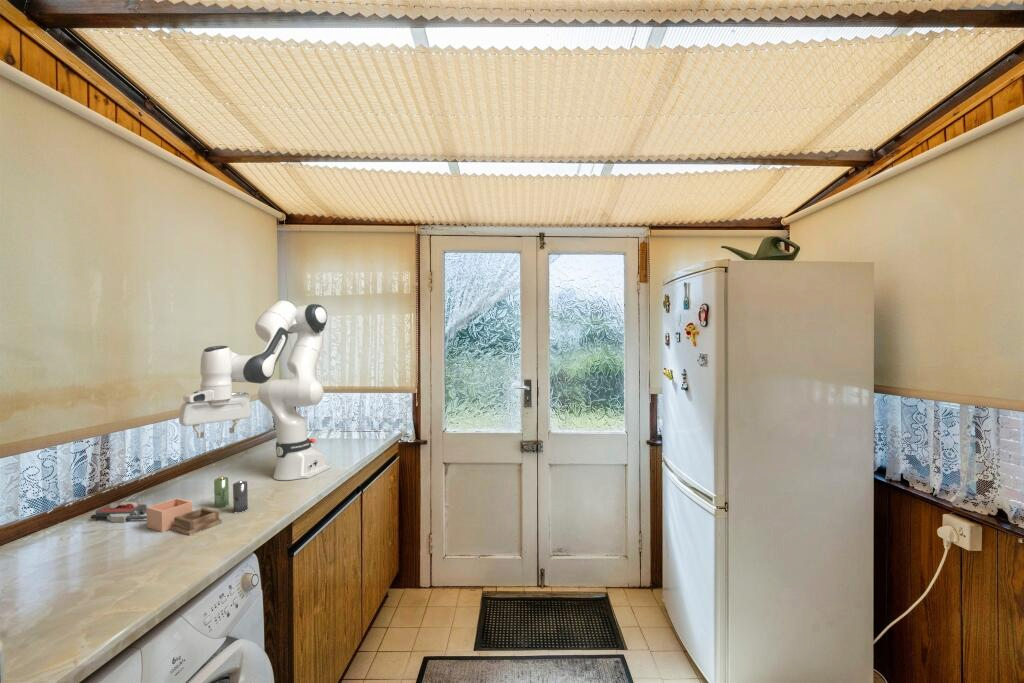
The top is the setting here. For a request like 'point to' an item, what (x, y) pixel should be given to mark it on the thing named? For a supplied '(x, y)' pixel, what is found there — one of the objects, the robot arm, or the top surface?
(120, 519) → the walkie-talkie
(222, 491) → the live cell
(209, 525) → the cell holder
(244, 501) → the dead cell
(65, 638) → the top surface
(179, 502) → the cup
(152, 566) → the top surface
